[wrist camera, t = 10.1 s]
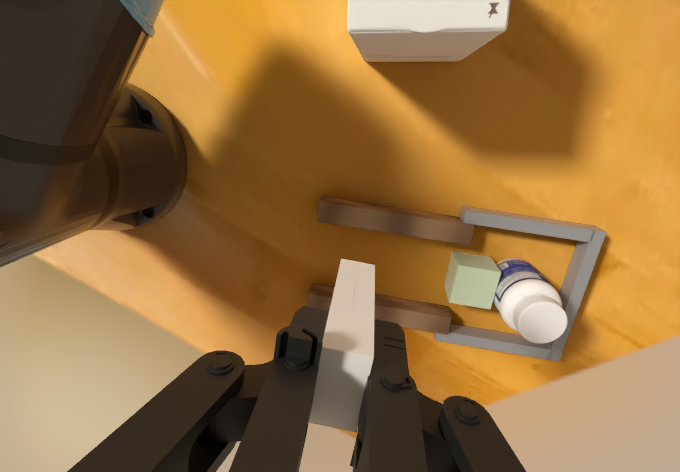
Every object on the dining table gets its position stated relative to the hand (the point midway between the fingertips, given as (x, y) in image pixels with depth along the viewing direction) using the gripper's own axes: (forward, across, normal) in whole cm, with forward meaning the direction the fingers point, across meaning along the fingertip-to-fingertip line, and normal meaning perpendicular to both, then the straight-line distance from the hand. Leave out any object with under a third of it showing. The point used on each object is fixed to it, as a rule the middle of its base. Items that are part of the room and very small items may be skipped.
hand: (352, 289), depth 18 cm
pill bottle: (+24, +17, -7) cm, 30 cm away
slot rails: (+24, +4, -8) cm, 25 cm away
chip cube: (+24, +12, -7) cm, 27 cm away
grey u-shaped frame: (+23, +17, -7) cm, 30 cm away
